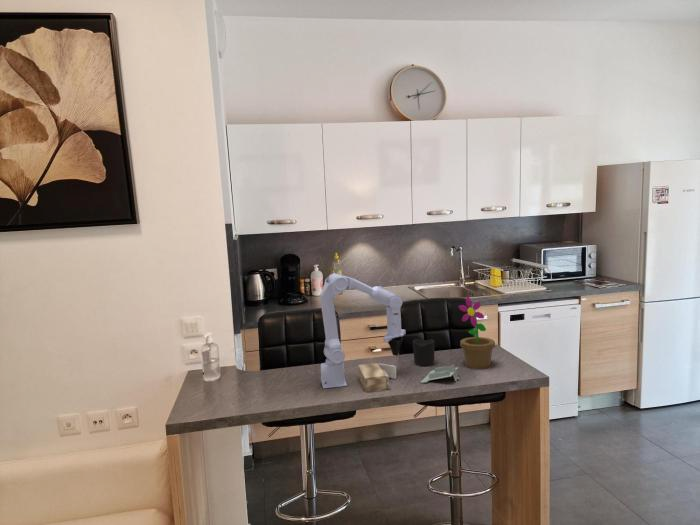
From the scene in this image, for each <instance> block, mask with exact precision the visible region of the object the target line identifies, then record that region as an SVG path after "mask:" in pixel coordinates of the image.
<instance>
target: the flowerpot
mask: <svg viewBox="0 0 700 525" xmlns="http://www.w3.org/2000/svg"><path fill="white" fill-rule="evenodd" d="M465 304H466V305H463V304H460V305H458V309H459V310H460V311H462V312H464V313H465V312H467V313H465V314H463V316H462V318H461V321H462V322H467V320H469V319H470V324H471V325H472V326H473V327H475V329H470V330H468V331H467V333H468V334H470V335H473V337H471V336H470V337H465V338H462V339H461V340H459V343H460V344H459V345H460V348H462V349H463V356H464V362H465V365H466V367H468V368H471V369H486V368H489V367H490V366H491V365H492V354H493V349H494V348H495V347H496V342H495V340H494V339H492V338H488V337H481V336H479V331H480V332H485V331H487V328H486V326H485V325H484V324H482V323H480V322H479V323H478V319H481V320H482V319H484V318H485V315H484V314H483V313H482V312H480V311H476V310H478V309H479V308H481V304H482V303H481V301H477V302H475V303H474V304H473V302H472V300H471V298H470V297H469V296H467V297H466V298H465Z"/></svg>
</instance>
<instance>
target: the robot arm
mask: <svg viewBox="0 0 700 525" xmlns="http://www.w3.org/2000/svg"><path fill="white" fill-rule="evenodd" d="M352 289H355V290H358V291H360V292H363V293H365V294H367V295H368V296H369V298H370V300H372V301H374V302H377V303H379V304H381V305H384V306H385V307H386V323H387V324H386V326H387V329H386V330H387V333H386V334H385V335H384V336H383V337H382V338H383V340H382V341H383V343H387V344H388V346H389V348H390V350H391V354H392V356H395V357H397V356H399V354H400V350H401V345H402V342H403V341H404V337H403V336H405V335H406V334H407V333H406V329H402V317H401V314H402V313H401V308H402V306H403V300H402V297H400V296H399V295H397V294H395V293H393V291H391V290H386V289H384V288H383V286H381V285H378V286H377V285H376V286H373V287H372V286H370V285H368V284H366V283H363V282H362V281H360V280H358V279H356V278H353V277H349V276H346V275H344V274H339V273H337V272H336V273H335V272H333V273H330V274H329V275H328V277H326V278H325V280H324V285H323V287H322V289H321V292H320V295H319V299H320V300H319V301H320V307H321V313H322V314H321V315H322V322H323V327H324V328H323V329H324V335H325V340H324V348H323V354H324V355H323V356H325V357H326V359H325V362H322V363H320V383H321V385H322V388H323V389H330V388H340V387H341V388H342V387H347V386H348V384H347V381H346V379H345V363H344V360H345V358H346V354H345V351H344V350H343V349H342V344H341V341H340V337H339V332H338V324H337V319H336V311H335V310H336V309H335V303H334V301H335V299H336V298H337V297H338V295H340V294H342V293H343V292H345V291H346V290H352Z"/></svg>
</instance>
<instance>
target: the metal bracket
mask: <svg viewBox="0 0 700 525" xmlns="http://www.w3.org/2000/svg"><path fill="white" fill-rule="evenodd" d="M458 369H459V367H458V366H457V367H456V366H455V364H451V365H449V366H440V367H439V366H438V367H435V368H434V369H433V370H431V371H430V372H428V374H427V375H425V377H424V378H423V379H422V380H421V381H420V382H421V383H420V384H425V383H428V382H429V381H433V380H439V379H445V378H451V377H452V376H453V379H454V382H455V381H456V382H457V381H458V380H460V377H459V376H458V373H457V370H458ZM457 379H458V380H457Z"/></svg>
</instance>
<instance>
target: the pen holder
mask: <svg viewBox="0 0 700 525" xmlns="http://www.w3.org/2000/svg"><path fill="white" fill-rule="evenodd" d="M412 348H413V349H412V350H413V361H414V362H413V363H414V364H415V365H416V366H418V365H420V366H419V367H429V366H433V365H434V364H435V340H434V339H431V338H430V339H426V340H425V339H422V338H415V339H413V340H412Z"/></svg>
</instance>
